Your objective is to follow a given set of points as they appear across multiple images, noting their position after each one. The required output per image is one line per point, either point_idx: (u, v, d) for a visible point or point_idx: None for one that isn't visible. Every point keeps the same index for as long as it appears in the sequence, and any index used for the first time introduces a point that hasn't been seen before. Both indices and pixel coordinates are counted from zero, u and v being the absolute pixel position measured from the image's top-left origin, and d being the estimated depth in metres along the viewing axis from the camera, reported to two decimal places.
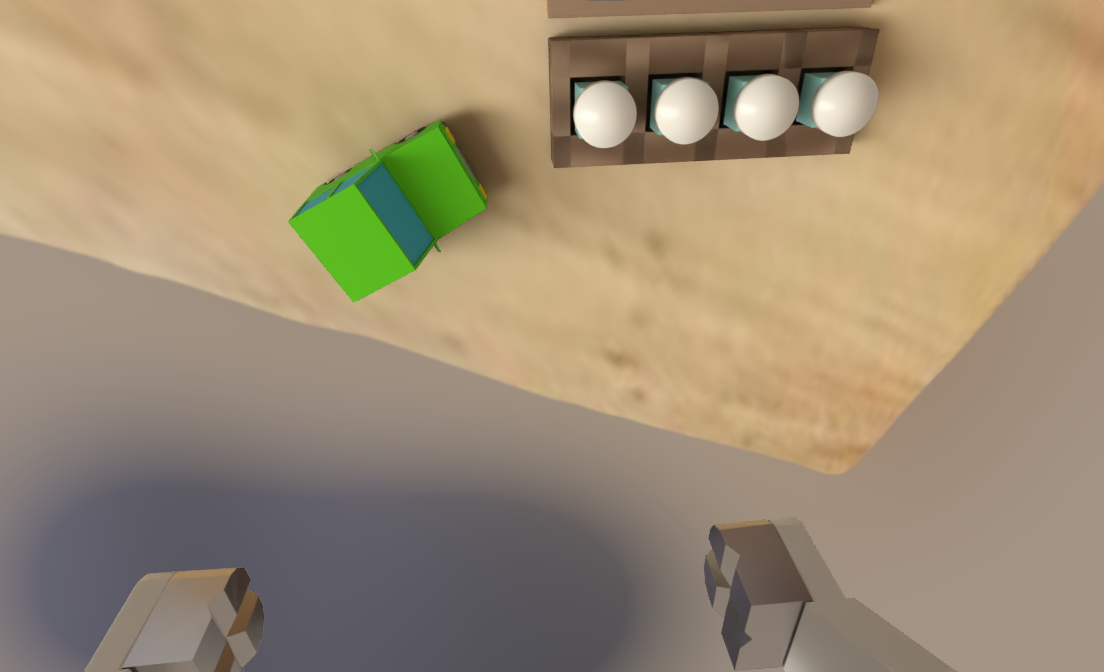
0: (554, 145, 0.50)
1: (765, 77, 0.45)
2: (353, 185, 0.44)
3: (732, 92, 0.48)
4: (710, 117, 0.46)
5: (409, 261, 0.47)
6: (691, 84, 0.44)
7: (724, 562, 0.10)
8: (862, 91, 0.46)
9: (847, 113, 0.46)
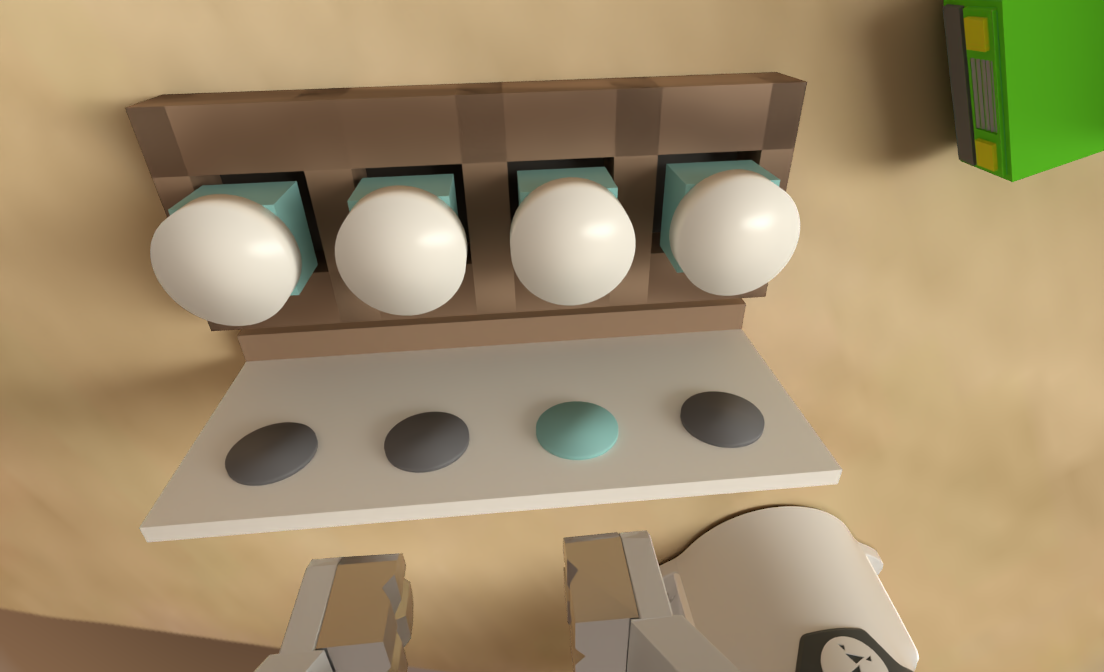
0: (795, 129, 0.25)
1: None
2: None
3: None
4: (525, 242, 0.22)
5: None
6: (572, 297, 0.23)
7: (568, 576, 0.10)
8: (206, 296, 0.22)
9: (215, 255, 0.21)
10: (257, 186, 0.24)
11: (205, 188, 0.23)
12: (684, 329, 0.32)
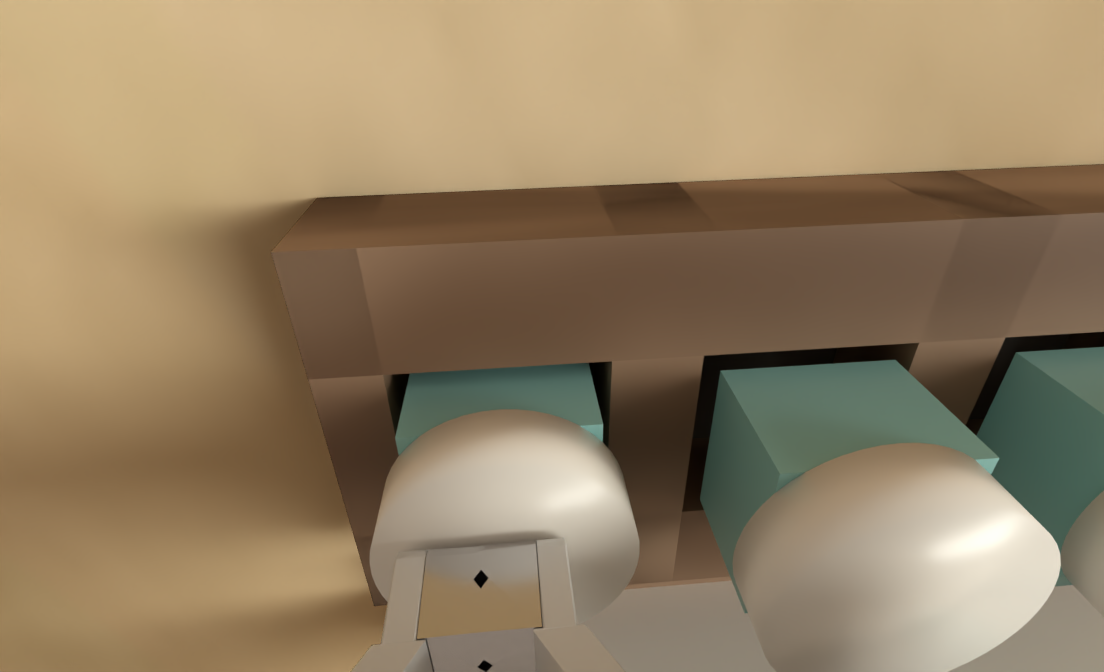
0: None
1: None
2: None
3: None
4: None
5: None
6: None
7: (482, 584, 0.09)
8: None
9: (501, 541, 0.10)
10: None
11: None
12: None
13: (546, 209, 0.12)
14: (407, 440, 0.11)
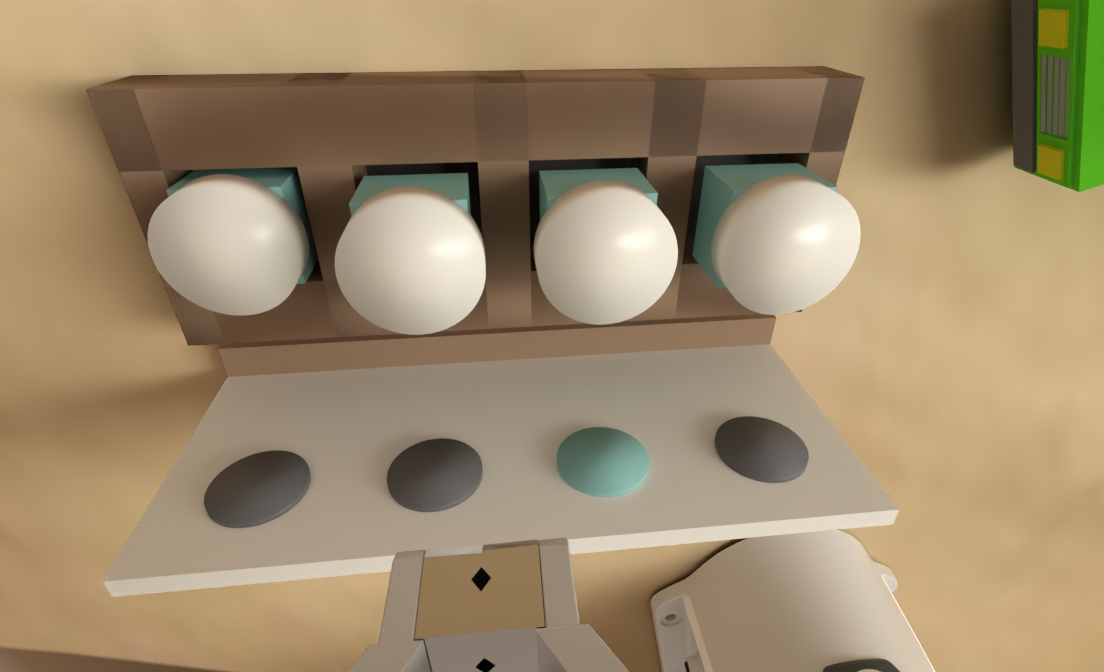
0: (847, 130, 0.23)
1: None
2: None
3: None
4: (554, 254, 0.19)
5: None
6: (604, 316, 0.21)
7: (485, 584, 0.09)
8: (207, 283, 0.20)
9: (218, 239, 0.20)
10: None
11: None
12: (709, 344, 0.30)
13: (257, 79, 0.21)
14: (173, 192, 0.20)
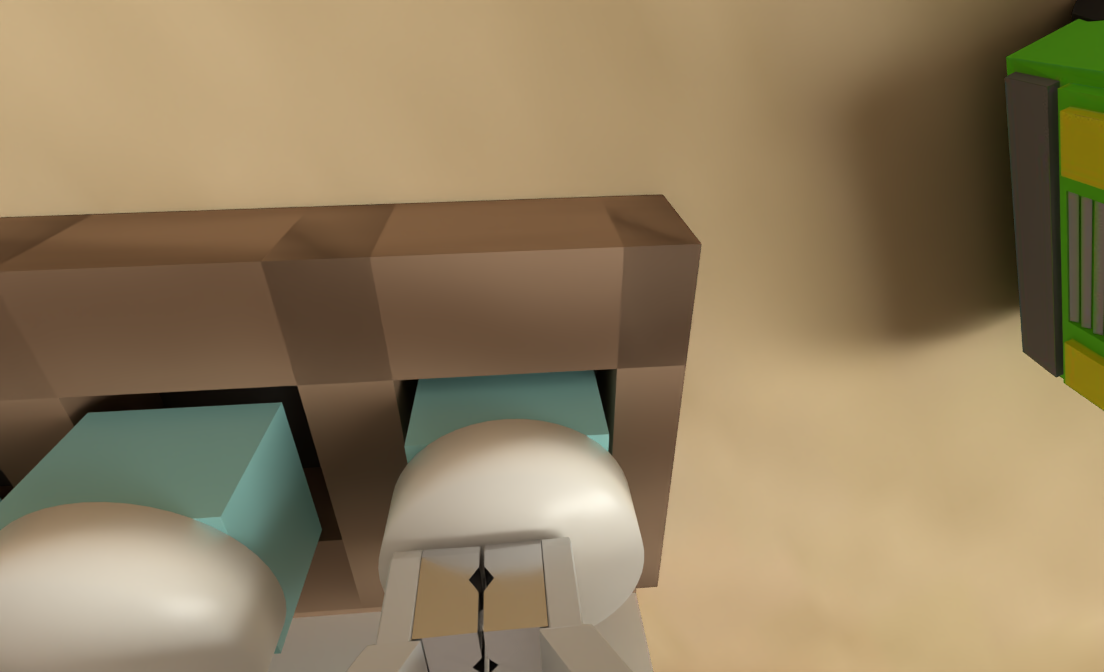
0: (685, 330, 0.12)
1: None
2: None
3: None
4: None
5: None
6: None
7: (488, 584, 0.09)
8: None
9: None
10: None
11: None
12: None
13: None
14: None
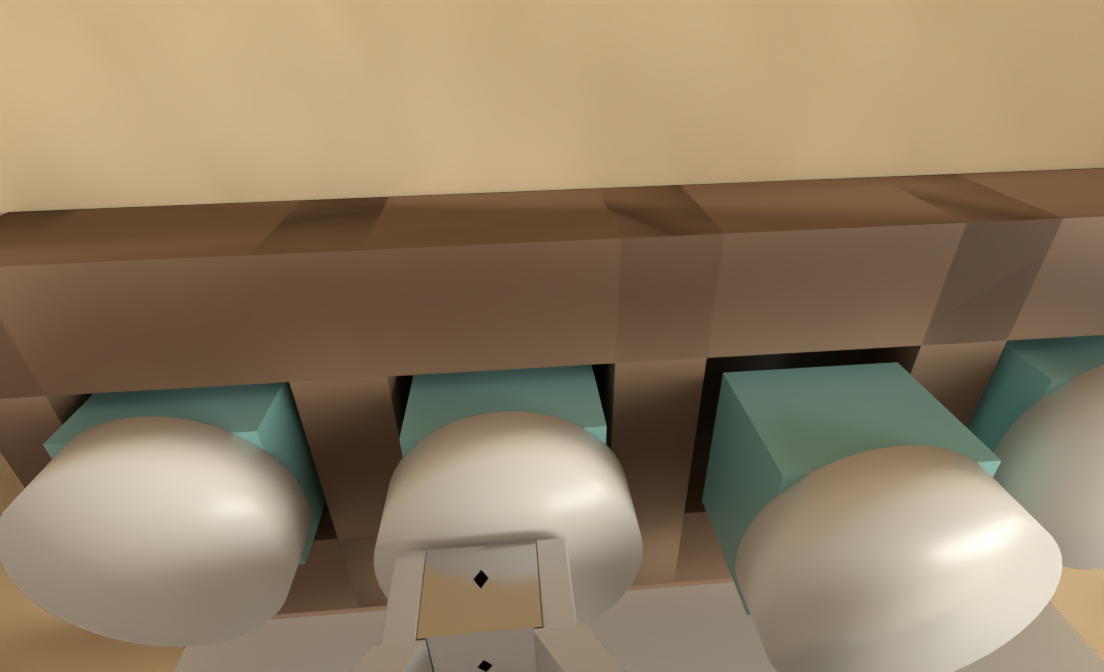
0: None
1: None
2: None
3: None
4: (806, 607, 0.09)
5: None
6: None
7: (482, 584, 0.09)
8: (122, 608, 0.11)
9: (133, 548, 0.10)
10: None
11: None
12: None
13: (218, 226, 0.11)
14: (57, 447, 0.11)
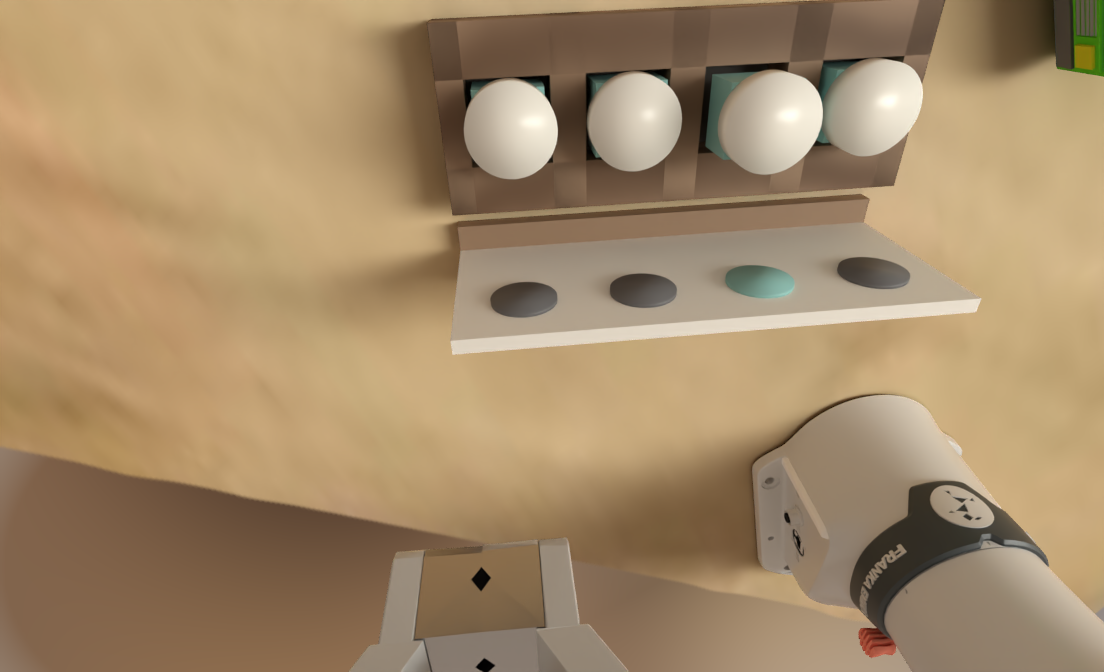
0: (932, 38, 0.31)
1: None
2: None
3: None
4: (739, 119, 0.28)
5: None
6: (767, 167, 0.30)
7: (485, 584, 0.09)
8: (495, 154, 0.30)
9: (508, 120, 0.29)
10: None
11: (477, 82, 0.32)
12: (816, 222, 0.39)
13: (523, 16, 0.30)
14: (474, 91, 0.30)
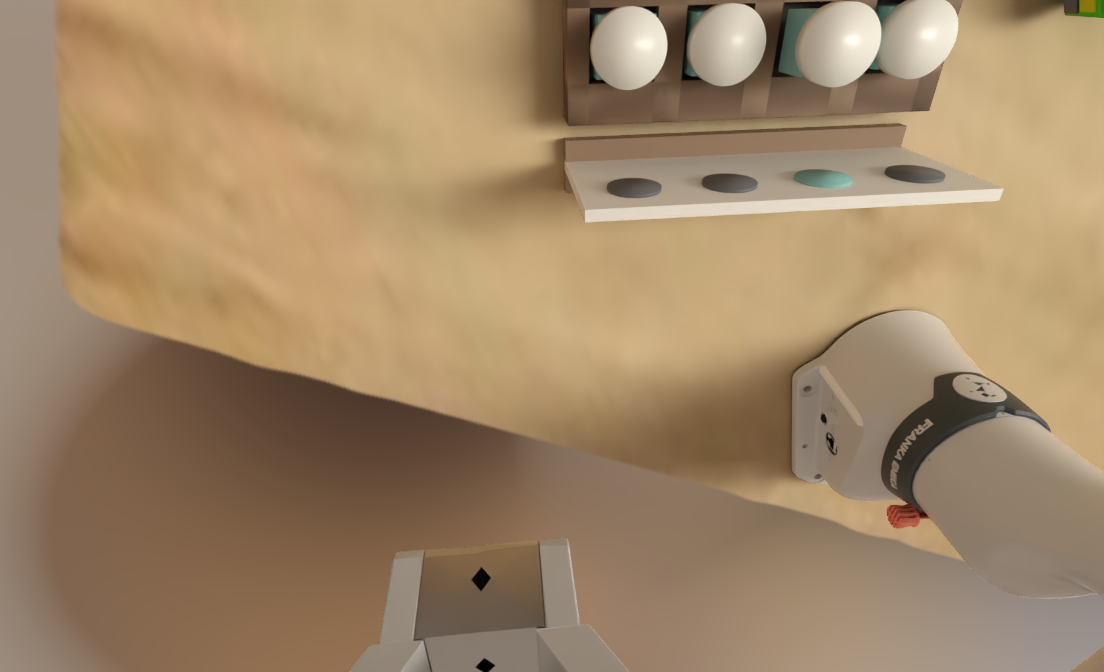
0: None
1: (732, 84, 0.39)
2: None
3: None
4: (815, 39, 0.36)
5: None
6: (834, 81, 0.37)
7: (485, 584, 0.09)
8: (615, 67, 0.37)
9: (629, 39, 0.37)
10: None
11: (596, 13, 0.39)
12: (862, 145, 0.46)
13: None
14: (601, 16, 0.37)
